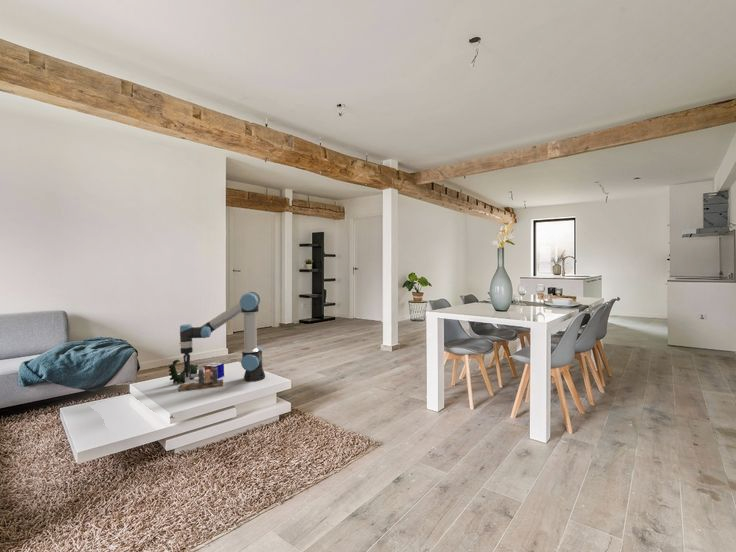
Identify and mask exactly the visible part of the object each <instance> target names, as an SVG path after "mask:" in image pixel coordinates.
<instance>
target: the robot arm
mask: <svg viewBox="0 0 736 552" xmlns="http://www.w3.org/2000/svg"><path fill="white" fill-rule="evenodd" d="M260 302H261V297H260V295H259V294H258V293H257V292H255V291H254V292H253V291H249V292H246V293H245V294H243V295H242V296H241V298H240V299H239V300H238V302H237V303H236V304H234V305H232V306H230V307H229V308H227V310H225V311H223V312H222V313H220V314H218V315H217V316H216V317H214V318H212V319H211V320H209V321H208V322H206V323H204V324H203V325H201V326H196V327H194V326H193V325H192V324H190V323H188V324H187V323H186V324H182V325H180V326H179V341H180V342H179V345H180V354H182V355H183V365H184V368H183V370H184V369H185V371H184V373H185V383H187V382H189V383H190V378H189V369H190V364H191V362H190V361H191V353H192V354H193V351H194V349H193V345H194V344H193V339H206V338H210V337H211V333H213V332H214V331H216V330H217V329H219V328H220V327H221V326H223V325H225V324H226V323H228V322H230V321H231V320H233V319H234V318H235V317H238V315H240V314H242V315H243V340H244V341H243V345H244V348H243V349H242V350H241V352H242V353H241V360H240V364H241V367H242V369H243V370H245V372H244V375H243V380H244V381H246V382H258V381H262V380H264V379H265V378H266V373H265V371H264V368H263V349H262V347H259V346H258V338H257V337H258V331H257V330H258V328H257V327H258V326H257V325H258V323H257V314H258V313H259V304H260Z"/></svg>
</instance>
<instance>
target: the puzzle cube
mask: <svg viewBox="0 0 736 552" xmlns="http://www.w3.org/2000/svg"><path fill="white" fill-rule="evenodd" d="M224 364H225V363H221V362H211V363H209V364H206V365H204V368H203V369H204V372H205V371H206V370H210V372H212V370H213V368H217V371H218V375H217V376H218V380H220V379H221V378H224V377H225V365H224ZM209 381H213V376H210V380H209Z"/></svg>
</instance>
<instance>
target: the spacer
mask: <svg viewBox="0 0 736 552" xmlns="http://www.w3.org/2000/svg"><path fill="white" fill-rule="evenodd" d="M204 373H205V376H204V382H205V381H211V380H210V370H206V371H204Z"/></svg>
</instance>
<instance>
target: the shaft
mask: <svg viewBox="0 0 736 552" xmlns="http://www.w3.org/2000/svg"><path fill="white" fill-rule="evenodd" d="M183 370H184V371H185V369H184V368H183ZM217 375H218V371H217ZM210 376H213V372H210ZM203 377H204V378H205V372H204V373H203ZM189 378H190V380H192V379H191V378H194V379H195V378H199V375H198V373H197V374H191V368H190V369H189ZM184 380H185V373H184Z"/></svg>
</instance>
